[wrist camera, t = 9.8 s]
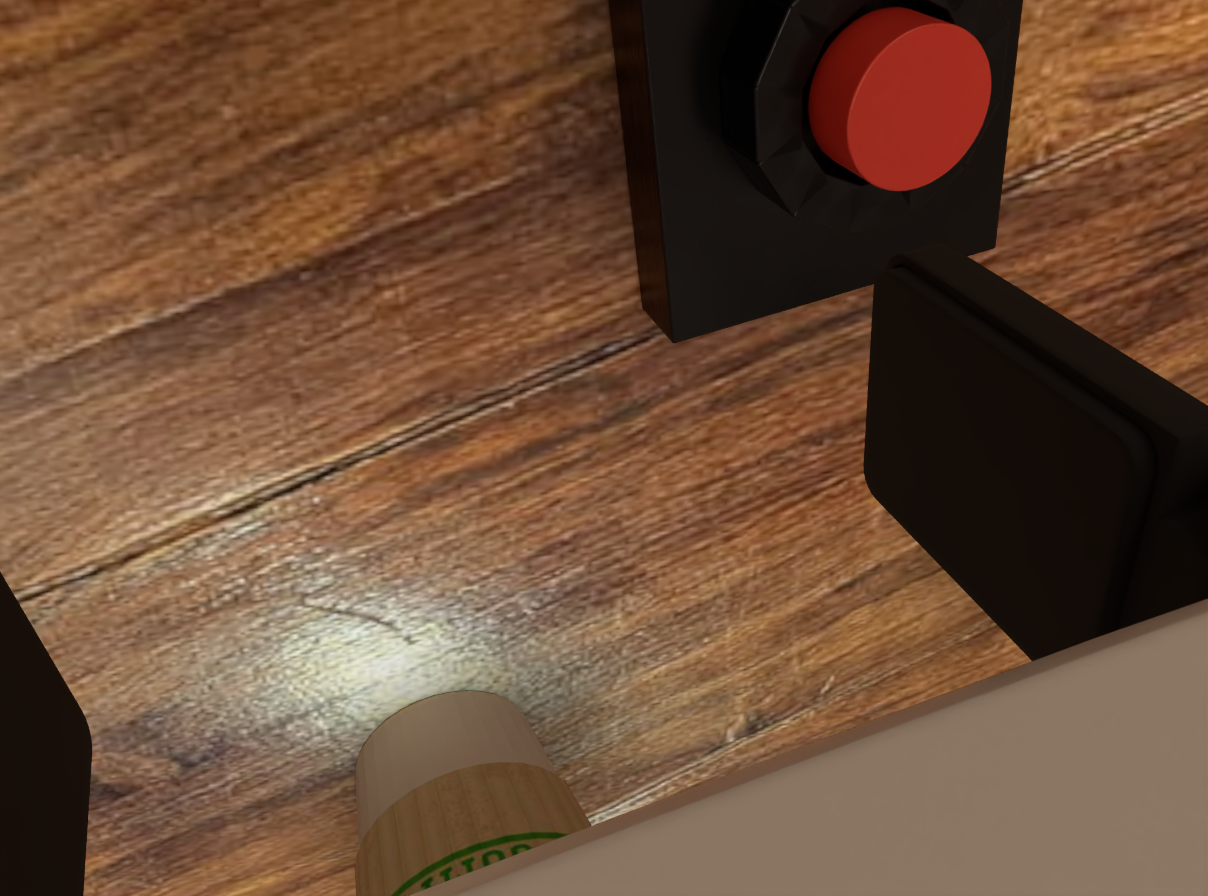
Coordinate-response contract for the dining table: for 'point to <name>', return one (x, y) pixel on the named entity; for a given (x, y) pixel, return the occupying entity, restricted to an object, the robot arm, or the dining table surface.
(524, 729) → the coffee cup
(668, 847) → the robot arm
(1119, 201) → the dining table surface
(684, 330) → the switch block
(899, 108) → the button
